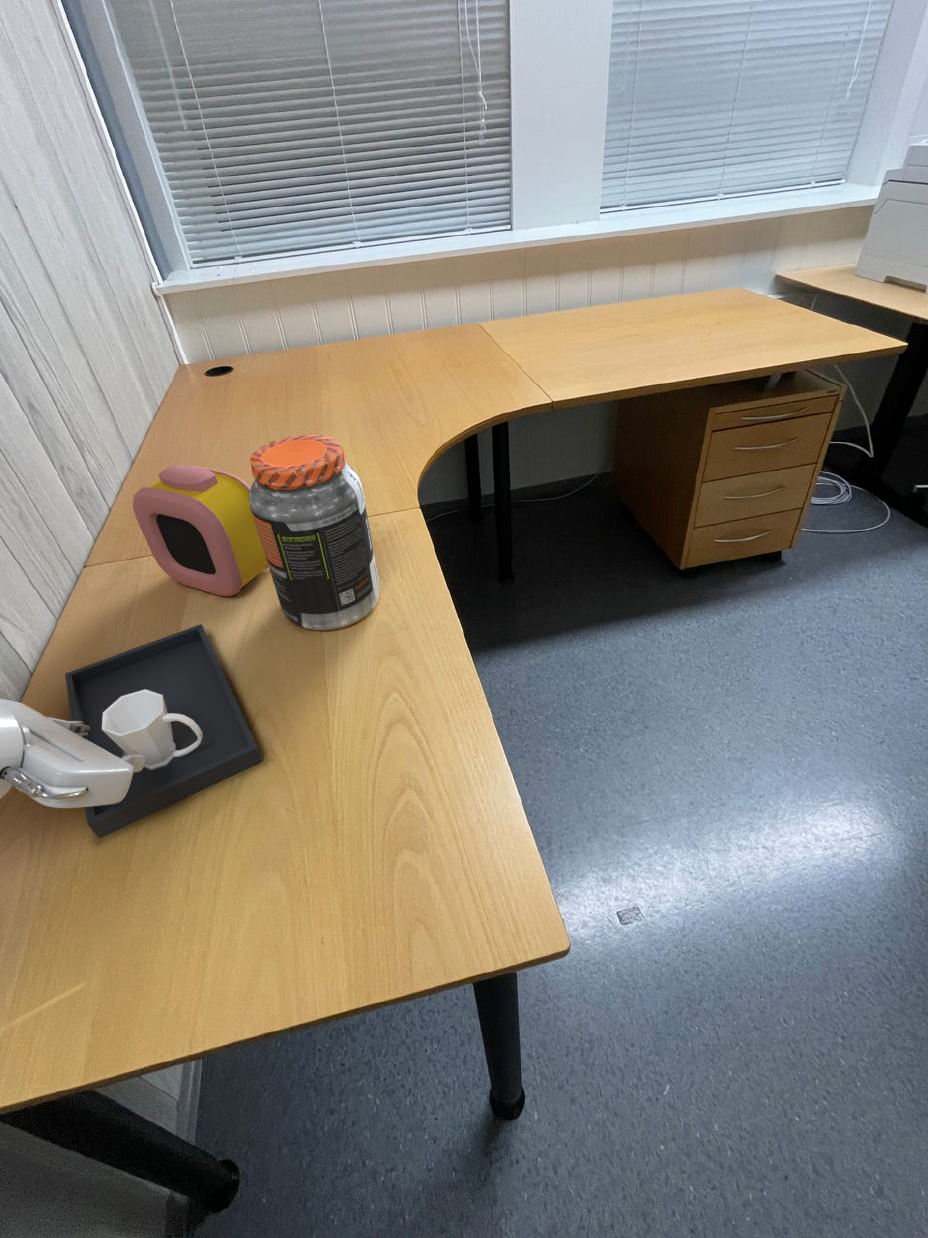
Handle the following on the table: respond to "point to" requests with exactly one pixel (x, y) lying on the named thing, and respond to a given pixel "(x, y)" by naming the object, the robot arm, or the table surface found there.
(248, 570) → the alarm clock
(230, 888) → the table surface
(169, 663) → the tray
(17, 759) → the robot arm
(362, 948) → the table surface
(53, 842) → the table surface
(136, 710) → the cup
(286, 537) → the supplement tub
